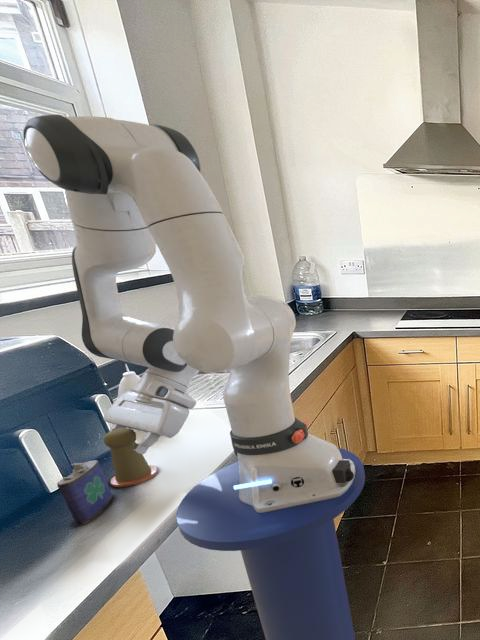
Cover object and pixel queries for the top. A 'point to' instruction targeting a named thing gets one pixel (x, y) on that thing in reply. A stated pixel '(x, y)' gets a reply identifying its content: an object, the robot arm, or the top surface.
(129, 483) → the coaster
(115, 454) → the cork
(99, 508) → the flask
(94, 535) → the top surface
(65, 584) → the top surface
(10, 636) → the top surface
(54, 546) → the top surface
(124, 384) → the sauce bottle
